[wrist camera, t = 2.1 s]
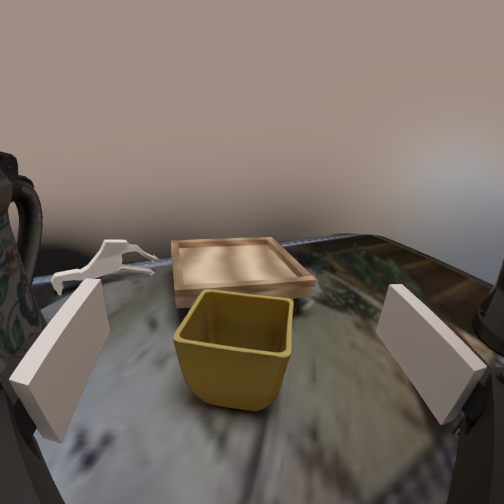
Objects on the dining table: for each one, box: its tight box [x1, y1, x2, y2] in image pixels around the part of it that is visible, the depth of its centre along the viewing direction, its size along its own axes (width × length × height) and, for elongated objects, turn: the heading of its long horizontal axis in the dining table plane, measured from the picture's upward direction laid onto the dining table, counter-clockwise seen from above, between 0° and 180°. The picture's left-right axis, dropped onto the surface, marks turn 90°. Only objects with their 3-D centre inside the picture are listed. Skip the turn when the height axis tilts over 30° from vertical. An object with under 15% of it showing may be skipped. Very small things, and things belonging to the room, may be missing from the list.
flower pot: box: [173, 289, 293, 411], centre depth 26 cm, size 9×9×9 cm
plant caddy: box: [171, 237, 316, 312], centre depth 45 cm, size 18×18×6 cm
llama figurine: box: [51, 240, 159, 295], centre depth 45 cm, size 2×11×18 cm
